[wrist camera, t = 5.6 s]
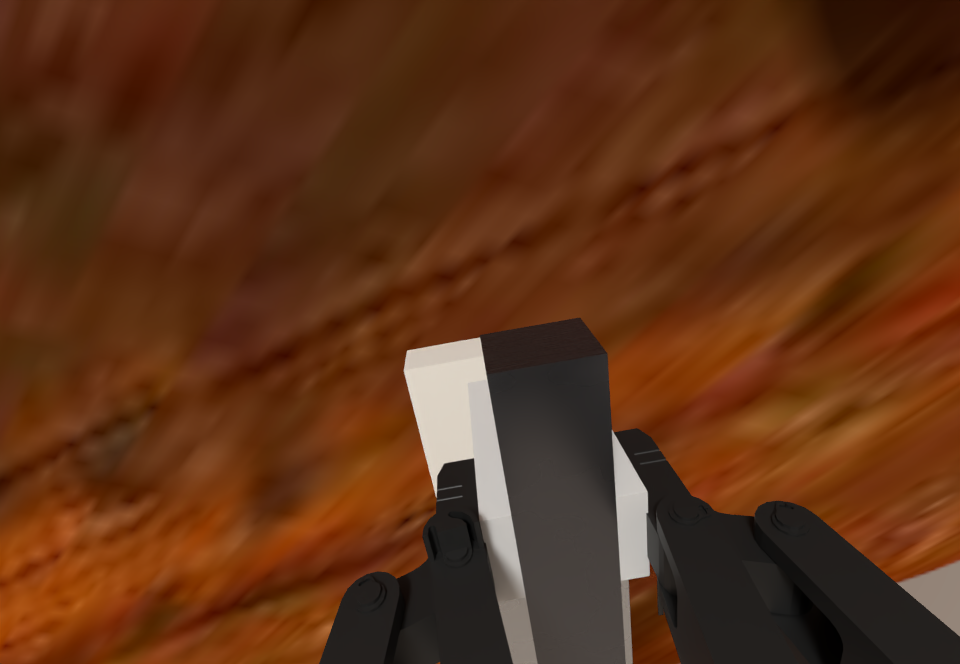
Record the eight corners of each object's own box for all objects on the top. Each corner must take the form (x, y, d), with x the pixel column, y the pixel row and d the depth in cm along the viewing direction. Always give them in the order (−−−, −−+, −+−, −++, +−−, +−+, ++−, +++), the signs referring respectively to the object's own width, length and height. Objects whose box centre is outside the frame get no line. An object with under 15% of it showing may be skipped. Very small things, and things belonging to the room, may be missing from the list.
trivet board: (407, 350, 32) (403, 370, 29) (577, 319, 32) (590, 336, 29) (451, 527, 38) (451, 557, 35) (592, 501, 38) (604, 529, 36)
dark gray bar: (415, 296, 15) (395, 390, 9) (602, 263, 15) (697, 337, 9) (514, 731, 24) (535, 910, 18) (629, 711, 24) (684, 884, 18)
